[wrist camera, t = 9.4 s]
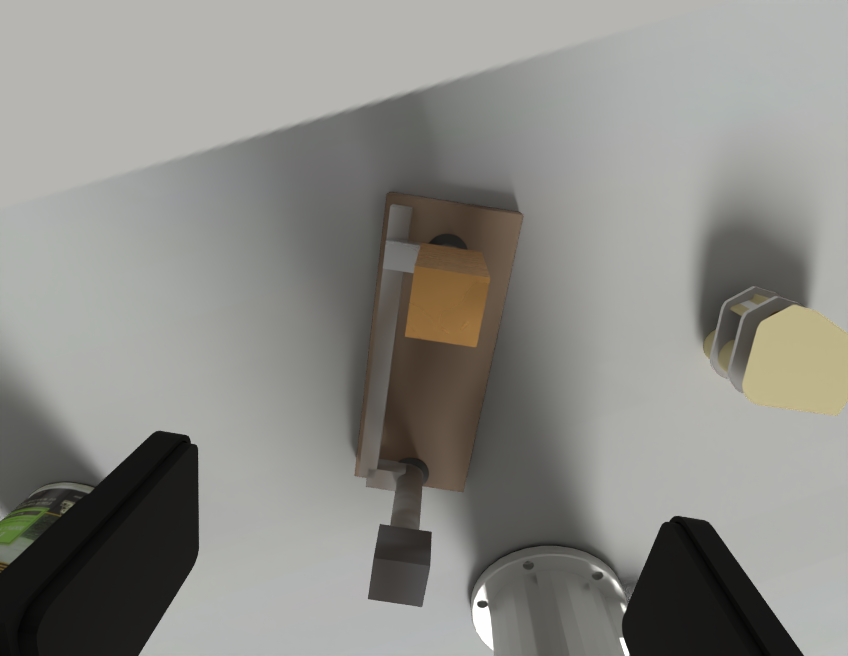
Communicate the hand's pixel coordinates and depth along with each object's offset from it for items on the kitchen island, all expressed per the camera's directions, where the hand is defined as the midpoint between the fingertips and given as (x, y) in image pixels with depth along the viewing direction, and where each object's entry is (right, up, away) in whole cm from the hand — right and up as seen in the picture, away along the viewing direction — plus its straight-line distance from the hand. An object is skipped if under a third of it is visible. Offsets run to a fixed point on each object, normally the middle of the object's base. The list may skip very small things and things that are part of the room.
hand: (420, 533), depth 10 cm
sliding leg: (0, +8, +19) cm, 21 cm away
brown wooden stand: (+1, +3, +23) cm, 23 cm away
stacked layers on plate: (+21, +4, +22) cm, 31 cm away
